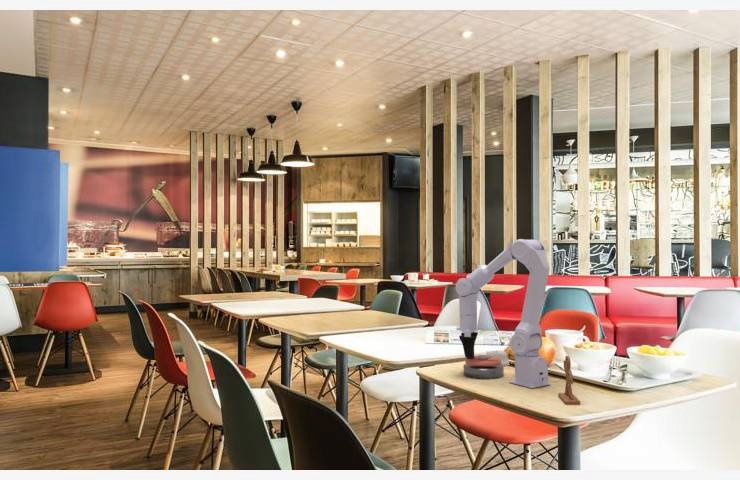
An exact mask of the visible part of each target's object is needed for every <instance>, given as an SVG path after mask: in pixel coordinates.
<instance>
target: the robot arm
mask: <svg viewBox="0 0 740 480" xmlns="http://www.w3.org/2000/svg"><path fill="white" fill-rule="evenodd" d="M546 251H547V247H545V245H544V244H543V243H542V242H541V241H540V240H538V239H535V238H534V239H523V238H519V239H516V240H514V241H513V242H512V243H510V244H509V245H508V246H507V247H506V248H505V249H504V250H502V252H500V254H498V255H497V256H496V257H495V258H494V259H493V260H491V261H490V262H489V263H488V264H478V265H477V266H475V268H476V269H475V270H473V271H472V272H471V273H468V274H467V275H466V278H464V277H463V278H458V280H457V282H456V283H455V291H456V294H458V295H459V296H458V301H459V303H458V304H459V305H458V306H459V327H456V329H455V330H456V331H460V332H461V333H460V335H459V337H458V338H459V340H460V342H461V345H462V348H463V352H464V357H465V359H466V358H472V355H473V348H474V349H475V344H476V340H477V338H478V335H479V332H478V331H479V328H478V307H477V306H478V305H477V304H478V303H477V302H478V300H477V299H478V294H479V292H480V291H481V289H482V288H483V287H484V286H486V285H487V284H488V283H490V282H491V281H492V280H493V279H494V278H495V273H496V272H498V271H499V270H501V269H502V268H504V267H505V266H507V265H508V264H509V263H511V262H513V261H518V262H520V263H521V264H522V265H524V266H525V268H526V269H527V270H528V271H529V275H528V282H527V287H526V292H525V296H524V301H523V306H522V312H521V317H520V322H519V323H518V325H517V326H516V327H515V329H514V334H513V335H512V337H511V338H510V340H509V345H510V349H511V350H512V352H513V353H514V354H513V355H514V376H515V377H514V379H512V380H509V381H508V382H509V383H511V384H513V385H517V386H521V387H526V388H531V389H535V388H540V387H546V386H550V385H551V383H550V382H549V365H548V362H547V359H546V358H545V357H542V356H540V349H541V348H542V346H543V338H542V331H543V330H542V328H541V326H540V320H541V314H542V310H543V304H544V299H545V294H546V289H547V284H548V278H549V274H550V264H549V261H548V256H547V255H546Z"/></svg>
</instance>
